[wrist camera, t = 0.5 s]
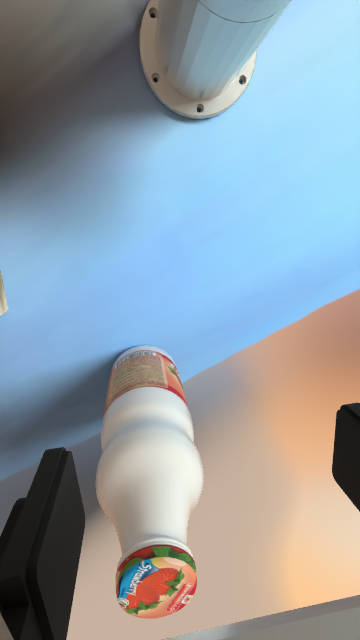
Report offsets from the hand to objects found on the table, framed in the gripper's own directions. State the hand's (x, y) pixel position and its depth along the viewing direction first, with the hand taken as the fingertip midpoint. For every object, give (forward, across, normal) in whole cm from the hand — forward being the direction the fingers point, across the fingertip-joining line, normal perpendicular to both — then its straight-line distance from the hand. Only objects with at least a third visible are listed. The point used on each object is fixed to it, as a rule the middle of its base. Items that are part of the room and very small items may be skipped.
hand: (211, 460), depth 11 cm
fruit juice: (+33, +3, +12) cm, 35 cm away
